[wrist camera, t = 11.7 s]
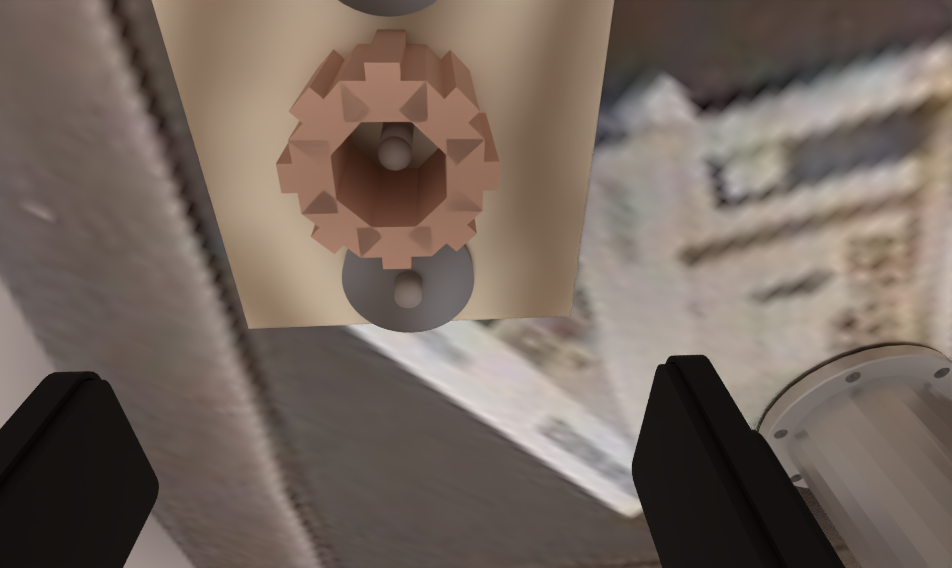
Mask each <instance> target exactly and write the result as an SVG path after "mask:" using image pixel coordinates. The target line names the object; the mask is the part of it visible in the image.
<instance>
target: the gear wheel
mask: <svg viewBox="0 0 952 568" xmlns="http://www.w3.org/2000/svg"><path fill="white" fill-rule="evenodd" d="M479 111H480V109H479V105H478V102H477V98H476V94H475V90H474V86H473V82H472V78H471V74H470V71H469V69H468V68H467V67H466V66H465V65H464V64H463V63H462V61H461V60H460V59H459V58H458V57H457V56H456V55H455V54H454V53H453V52H452V51H451V50H450V51H449V52H448V53H447V54H446V55H445V56H444V57H443V58H442V59H440V58H439V57H438V56H437V55H436V54H435V53H434V52H433V51H432V50H431V49H430V48H429V47H428V46H427V45H420V44H406V36H405V30H403V29H377V31H376V33H375V36H374V38H373V41H372V43H371V44H357V45H356V47H355V48H354V49H353V50H352V51H351V52H350V54H349V55H348V56H347V57H346V58H345V59H344V58H343V57H341V56H340V55H339V54H338V53H337V52H336V51H335V50H334V49H333V50H332V51H331V53H330V54H329V55H328V56H327V57H326V59H325V60H324V61H323V62H322V63H321V65H320V66H319V67H318V68H317V69H316V71H315V72H314V74H313V75H312V77H311V79H310V80H309V82H308V83H307V85H306V86H305V88H304V89H303V91H302V92H301V94H300V95H299V97H298V98H297V100H296V101H295V103H294V104H293V106H292V107H291V109H290V110H289V112H290V113H291V114H292V115H293V116H294V117H296V118H297V119H298V120H299V122H298V124H297V126H296V127H295V129H294V131H293V132H292V134H291V136H290V138H289V139H288V144H287V145H286V147H285V149H284V150H283V152H282V154H281V156H280V157H279V159H278V161H277V163H276V168H277V173H278V178H279V183H280V188H281V193H298V199H299V204H300V210H301V214H302V215H304V216H305V217H306V218H308V219H309V220H310V221H312V222H313V223H314V224H315V226H314V229H313V232H312V234H311V238H313V239H314V240H316V241H317V242H318V243H320V244H321V245H322V246H324V247H325V248H327V249H328V250H329V251H331V252H332V253H334V254H335V253H336V252H337V251H338V250H339V249H340V248H341V247H342V246H343V245H344V246H345V247H347V248H348V249H349V250H351V251H352V252H353V253H355V254H356V255H357V256H359V257H360V258H376V257H382V263H383V269H411V264H412V257H421V256H433V255H434V254H435V253H436V252H437V251H438V250H439V249H440V248H442V247H443V246H444V245H445V244H446V243H447V244H448V245H449V246H451V247H452V248H453V249H454V250H455V251H458V250H459V249H460V248H461V247H462V246H463V245H465V244H466V243H467V242H468V241H469V240H470V239H471V238H473V237H474V236H475V235H476V234H477V231H476V224H475V217H476V216H477V215H479V214H480V213H481V212H482V211H483V191H493V190H498V186H499V165H500V161H499V158H498V154H497V151H496V147H495V144H494V140H493V137H492V133H491V130H490V126H489V123H488V119H487V115H486V113H478V112H479ZM361 122H412V123H413V124H414V125H415V126H416V127H417V128H418V129H419V130H420V131H421V132H422V133H424V134H425V135H426V136H427V137H428V138H429V139H430V140H431V141H432V142H433V143H434V144H435V145H436V146H437V147H439V148H438V149H437V150H436V151H435V152H434V153H433V154H432V155H431V156H430V157H429V158H428V159H427V160H426V161H425V162H424V163H423V164H422V165H421V166H420V167H419V168H404V169H402V170H398V171H393V170H389V169H382V168H380V167H379V166H378V165H377V164H376V163H375V162H373V161H372V160H371V159H370V158H369V157H368V156H366V155H365V154H364V153H363V152H362V151H361V150H359V149H358V148H357V147H356V146H355V145H354V144H353V138H352V132H353V131H354V129H355V128H356V127H357V126H358V125H359V124H360V123H361Z"/></svg>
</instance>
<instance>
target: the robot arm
mask: <svg viewBox="0 0 952 568" xmlns="http://www.w3.org/2000/svg"><path fill="white" fill-rule="evenodd" d="M632 476H633V481H634V485H635V488H636V490H637V493H638V496H639V499H640V502H641V505H642V508H643V511H644V514H645V517H646V520H647V523H648V526H649V529H650V532H651V535H652V538H653V541H654V544H655V547H656V550H657V553H658V556H659V559H660V562H661V565H662V568H845V566H844V565H843V563H842V561H841V560H840V558H839V557H838V555H837V553H836V552H835V550H834V549H833V547H832V545H831V544H830V542H829V540H828V539H827V537H826V536H825V534H824V532H823V531H822V529H821V528H820V526H819V524H818V523H817V521H816V519H815V518H814V516H813V515H812V513H811V511H810V510H809V508H808V507H807V505H806V503H805V502H804V500H803V498H802V497H801V495H800V494H799V492H798V490H797V489H796V487H795V486H799V487H804V488H809V489H810V490H811V492H812V493H813V495H814V496H815V498H816V500H817V501H818V503H819V504H820V506H821V507H822V509H823V510H824V512H825V513H826V515H827V516H828V518H829V519H830V521H831V522H832V524H833V525H834V527H835V529H836V530H837V532H838V533H839V535H840V536H841V538H842V539H843V541H844V542H845V544H846V545H847V547H848V548H849V550H850V551H851V553H852V555H853V556H854V558H855V559H856V561H857V562H858V564H859V565H860V567H861V568H952V361H951V360H950V359H948V358H947V357H946V356H944V355H943V354H941V353H940V352H938V351H935V350H932V349H929V348H926V347H920V346H912V345H899V346H885V347H879V348H874V349H868V350H864V351H861V352H858V353H855V354H851V355H848V356H845V357H843V358H841V359H838V360H836V361H834V362H831V363H829V364H827V365H825V366H823V367H821V368H819V369H818V370H816V371H814V372H812V373H811V374H809V375H807V376H806V377H804V378H803V379H802V380H800V381H799V382H798V383H796V384H795V385H793V386H792V387H791V388H790V389H789V390H788V391H786V392H785V393H784V394H783V395H782V396H781V397H780V398H779V399H778V400H777V401H776V403H775V404H774V405H773V406H772V408H771V409H770V410H769V411H768V413H767V415H766V416H765V418H764V420H763V422H762V424H761V426H760V429H759V432H757V431H756V430H751V428H750V427H749V425H748V423H747V422H746V420H745V418H744V417H743V415H742V413H741V412H740V410H739V408H738V407H737V405H736V404H735V402H734V400H733V399H732V397H731V395H730V394H729V392H728V390H727V389H726V387H725V385H724V384H723V382H722V380H721V379H720V377H719V375H718V374H717V372H716V370H715V369H714V367H713V365H712V364H711V362H710V360H709V359H708V358H707V357H706V356H704V355H677V356H670V357H669V358H668V359H667V361H666V364H659V365H658V367H657V369H656V372H655V376H654V380H653V384H652V388H651V392H650V396H649V399H648V403H647V407H646V411H645V415H644V419H643V423H642V426H641V430H640V434H639V438H638V442H637V446H636V450H635V453H634V457H633V461H632ZM794 485H795V486H794ZM158 490H159V484H158V479H157V477H156V475H155V473H154V471H153V469H152V467H151V465H150V463H149V461H148V459H147V457H146V455H145V453H144V451H143V449H142V447H141V445H140V443H139V441H138V439H137V437H136V435H135V433H134V431H133V429H132V427H131V425H130V423H129V421H128V419H127V417H126V415H125V413H124V411H123V409H122V407H121V405H120V403H119V401H118V399H117V397H116V395H115V393H114V391H113V389H112V387H111V385H110V384H109V383H108V382H107V381H106V380H101V378H100V377H99V376H98V374H96V373H94V372H90V371H84V372H54V373H52V374H49V375H48V376H47V377H46V378H45V379H43V380H42V382H41V383H40V384H39V385H38V386H37V387H36V388H35V390H34V391H33V392H32V393H31V394H30V395H29V397H28V398H27V399H26V400H25V401H24V402H23V403H22V405H21V406H20V407H19V408H18V409H17V410H16V411H15V413H14V414H13V415H12V416H11V417H10V418H9V420H8V421H7V422H6V423H5V424H4V425H3V427H2V428H1V429H0V568H123V567H124V565H125V563H126V560H127V558H128V556H129V554H130V552H131V550H132V548H133V546H134V544H135V542H136V540H137V538H138V536H139V534H140V532H141V530H142V528H143V526H144V524H145V522H146V520H147V518H148V516H149V514H150V512H151V510H152V508H153V506H154V504H155V502H156V499H157V496H158Z"/></svg>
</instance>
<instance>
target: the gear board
mask: <svg viewBox="0 0 952 568" xmlns="http://www.w3.org/2000/svg"><path fill="white" fill-rule="evenodd" d="M152 2H153V6H154V9H155V13H156V16H157V19H158V23H159V26H160V29H161V33H162V36H163V40H164V43H165V46H166V50H167V53H168V56H169V60H170V63H171V67H172V70H173V73H174V77H175V80H176V84H177V87H178V90H179V94H180V97H181V100H182V104H183V107H184V111H185V114H186V117H187V121H188V124H189V128H190V131H191V134H192V138H193V141H194V144H195V148H196V151H197V155H198V158H199V161H200V165H201V168H202V171H203V175H204V178H205V182H206V185H207V188H208V192H209V195H210V199H211V202H212V205H213V209H214V212H215V215H216V219H217V222H218V226H219V229H220V232H221V236H222V239H223V243H224V246H225V249H226V253H227V256H228V259H229V263H230V266H231V270H232V273H233V276H234V280H235V283H236V286H237V290H238V293H239V297H240V300H241V303H242V307H243V310H244V314H245V317H246V320H247V324H248V327H249V329H251V328H277V327H302V326H328V325H353V324H375V325H377V326H379V327H381V328H384V329H388V330H392V331H397V332H422V331H427V330H431V329H434V328H437V327H439V326H442V325H444V324H445V323H447V322H449V321H455V320H481V319H506V318H531V317H557V316H571V309H572V301H573V294H574V287H575V280H576V273H577V265H578V258H579V251H580V244H581V236H582V229H583V222H584V215H585V207H586V200H587V193H588V186H589V178H590V171H591V164H592V157H593V149H594V142H595V135H596V128H597V121H598V113H599V106H600V99H601V92H602V84H603V77H604V70H605V63H606V55H607V48H608V41H609V34H610V26H611V19H612V12H613V5H614V0H152ZM377 29H403V30H405V36H406V44H420V45H427V46H428V47H429V48H430V49H431V50H432V51H433V52H434V53H435V54H436V55H437V56H438V57H439V58H440V59H442V58H443V57H444V56H445V55H446V54H447V53H448V52H449V51H450V50H451V51H452V52H453V53H454V54H455V55H456V56H457V57H458V58H459V59H460V60H461V61H462V63H463V64H464V65H465V66H466V67H467V68H468V69H469V71H470V74H471V78H472V82H473V86H474V90H475V94H476V98H477V102H478V105H479V109H480V111H479V112H478V113H486V115H487V119H488V123H489V126H490V130H491V133H492V137H493V140H494V144H495V147H496V151H497V154H498V158H499V161H500V165H499V186H498V190H493V191H483V211H482V212H481V213H480V214H479V215H477V216H476V217H475V224H476V231H477V234H476V235H475V236H474V237H473V238H471V239H470V240H469V241H468V242H467V243H466V244H465V245H463V246H462V247H461V248H460V249H459V250H458V251H455V250H454V249H453V248H452V247H451V246H449V245H448V244H447V243H446V244H445V245H444V246H443V247H442V248H440V249H439V250H438V251H437V252H436V253H435V254H434V255H433V256H421V257H412V264H411V269H383V263H382V257H376V258H360V257H359V256H357V255H356V254H355V253H353V252H352V251H351V250H349V249H348V248H347V247H345V246H344V245H343V246H342V247H341V248H340V249H339V250H338V251H337V252H336V253H335V254H334V253H332V252H331V251H329V250H328V249H327V248H325V247H324V246H322V245H321V244H320V243H318V242H317V241H316V240H314V239H313V238H311V234H312V232H313V229H314V226H315V224H314V223H313V222H312V221H310V220H309V219H308V218H306V217H305V216H304V215H302V214H301V210H300V204H299V199H298V193H281V188H280V183H279V178H278V173H277V168H276V163H277V161H278V159H279V157H280V156H281V154H282V152H283V150H284V149H285V147H286V145H287V144H288V139H289V138H290V136H291V134H292V132H293V131H294V129H295V127H296V126H297V124H298V122H299V120H298V119H297V118H296V117H294V116H293V115H292V114H291V113H290V112H289V110H290V109H291V107H292V106H293V104H294V103H295V101H296V100H297V98H298V97H299V95H300V94H301V92H302V91H303V89H304V88H305V86H306V85H307V83H308V82H309V80H310V79H311V77H312V75H313V74H314V72H315V71H316V69H317V68H318V67H319V66H320V65H321V63H322V62H323V61H324V60H325V59H326V57H327V56H328V55H329V54H330V53H331V51H332V50H333V49H334V50H335V51H336V52H337V53H338V54H339V55H340V56H341V57H343V58H344V59H345V58H346V57H347V56H348V55H349V54H350V52H351V51H352V50H353V49H354V48H355V47H356V45H357V44H371V43H372V41H373V38H374V36H375V33H376V31H377ZM352 138H353V144H354V145H355V146H356V147H357V148H358V149H359V150H361V151H362V152H363V153H364V154H365V155H366V156H368V157H369V158H370V159H371V160H372V161H373V162H375V163H376V164H377V165H378V166H379V167H380V168H382V169H389V170H393V171H398V170H402V169H404V168H419V167H420V166H421V165H422V164H423V163H424V162H425V161H426V160H427V159H428V158H429V157H430V156H431V155H432V154H433V153H434V152H435V151H436V150H437V149H438V148H439V147H437V146H436V145H435V144H434V143H433V142H432V141H431V140H430V139H429V138H428V137H427V136H426V135H425V134H424V133H422V132H421V131H420V130H419V129H418V128H417V127H416V126H415V125H414V124H413V123H412V122H361V123H360V124H359V125H358V126H357V127H356V128H355V129H354V131H353V132H352Z"/></svg>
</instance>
